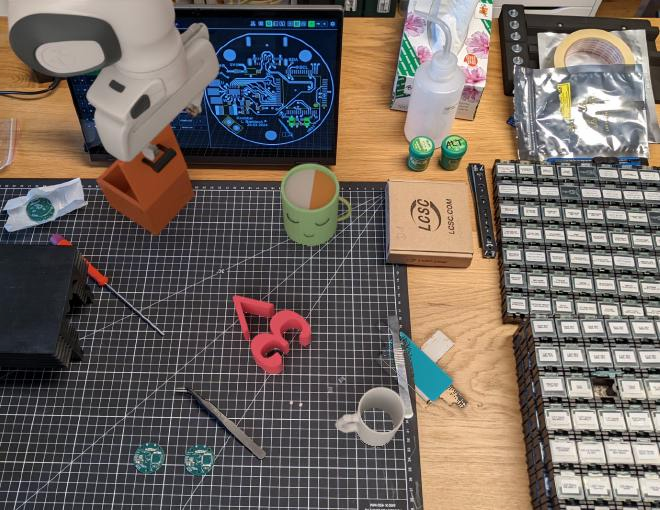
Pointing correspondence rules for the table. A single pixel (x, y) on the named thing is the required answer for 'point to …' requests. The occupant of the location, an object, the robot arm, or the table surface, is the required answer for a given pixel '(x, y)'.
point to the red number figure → (278, 327)
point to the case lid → (155, 169)
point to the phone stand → (430, 368)
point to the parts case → (129, 205)
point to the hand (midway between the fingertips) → (173, 133)
